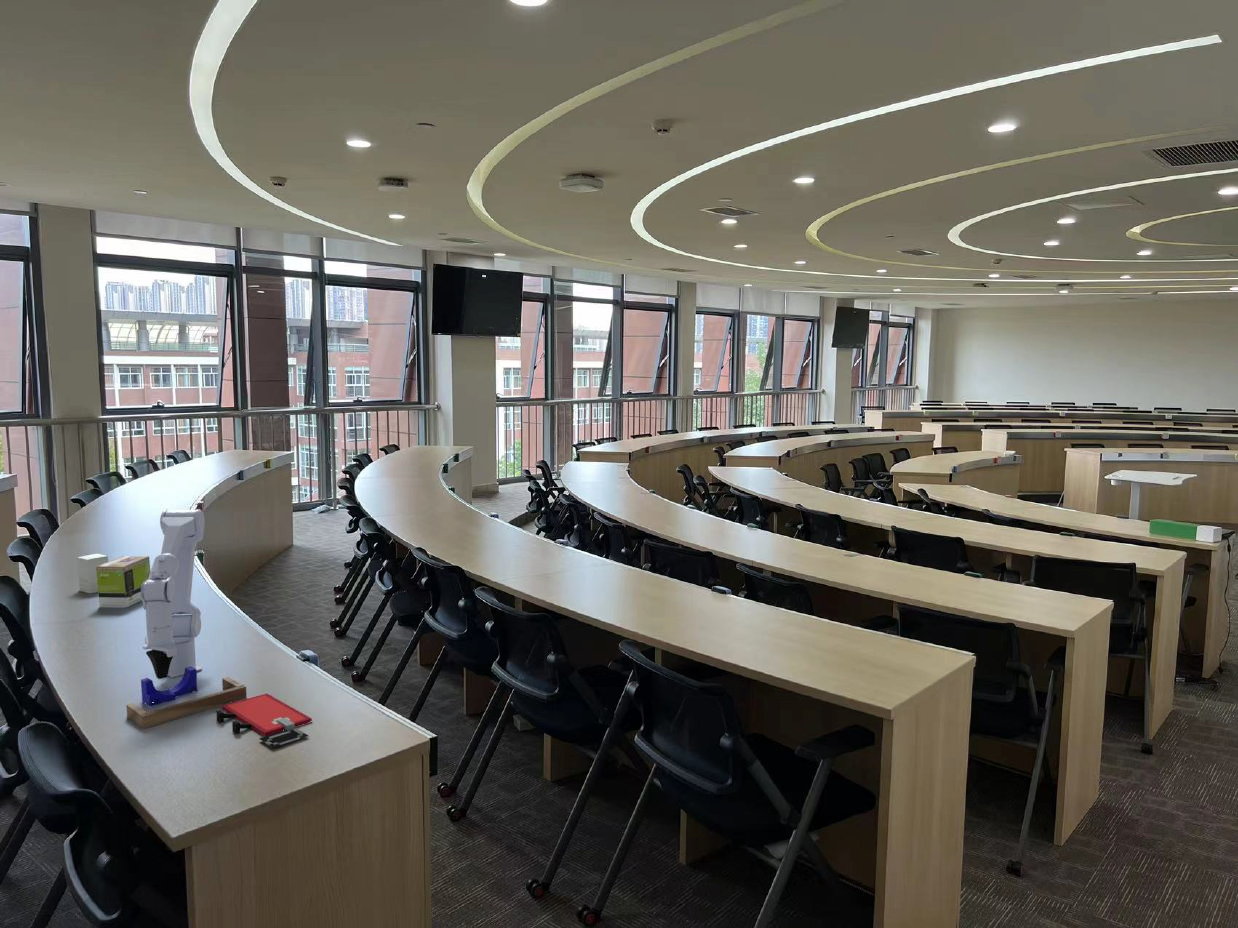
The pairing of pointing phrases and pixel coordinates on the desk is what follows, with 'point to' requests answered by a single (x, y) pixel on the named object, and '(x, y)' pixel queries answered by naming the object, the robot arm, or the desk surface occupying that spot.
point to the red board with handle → (265, 719)
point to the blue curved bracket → (182, 688)
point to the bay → (188, 705)
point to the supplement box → (89, 571)
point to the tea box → (122, 581)
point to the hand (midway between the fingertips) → (162, 677)
